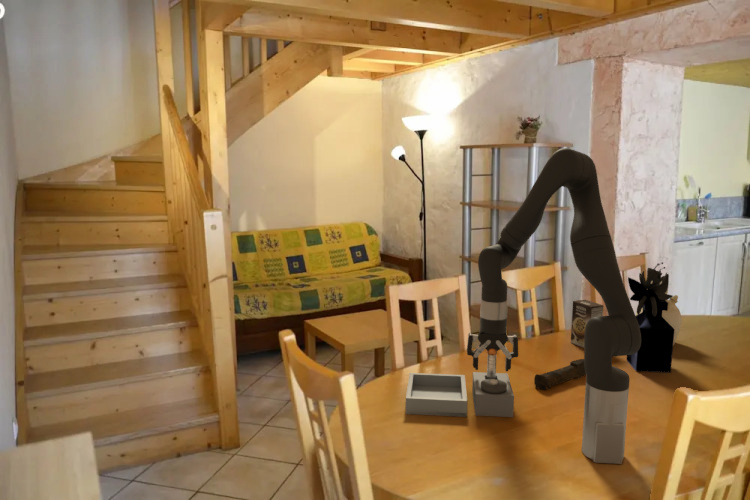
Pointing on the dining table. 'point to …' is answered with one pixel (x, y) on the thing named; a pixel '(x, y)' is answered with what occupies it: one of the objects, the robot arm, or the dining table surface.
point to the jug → (672, 315)
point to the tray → (436, 395)
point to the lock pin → (491, 364)
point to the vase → (652, 323)
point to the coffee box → (583, 319)
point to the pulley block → (492, 395)
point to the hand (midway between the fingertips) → (491, 369)
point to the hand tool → (560, 375)
